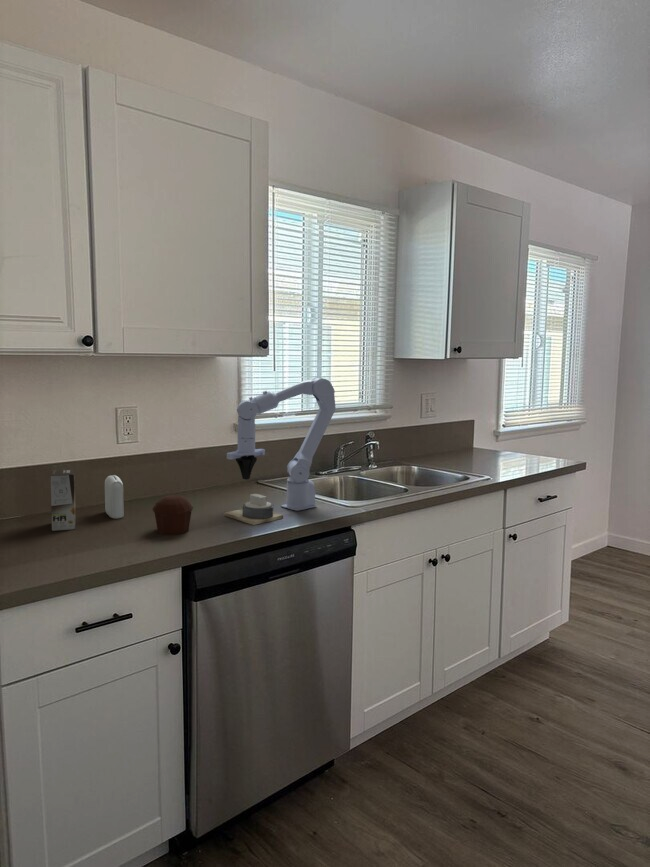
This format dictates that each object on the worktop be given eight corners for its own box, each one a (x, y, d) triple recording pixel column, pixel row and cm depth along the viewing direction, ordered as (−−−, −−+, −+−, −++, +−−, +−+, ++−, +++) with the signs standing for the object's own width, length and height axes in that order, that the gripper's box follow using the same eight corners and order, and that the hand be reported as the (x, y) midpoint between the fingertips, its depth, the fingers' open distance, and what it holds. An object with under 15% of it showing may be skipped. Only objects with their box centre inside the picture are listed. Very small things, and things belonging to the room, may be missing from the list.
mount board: (253, 509, 215) (253, 506, 215) (283, 518, 206) (283, 515, 206) (224, 515, 207) (224, 512, 207) (253, 525, 197) (253, 521, 197)
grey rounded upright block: (103, 511, 208) (103, 473, 206) (117, 510, 210) (117, 472, 208) (110, 519, 199) (109, 479, 197) (125, 518, 201) (124, 478, 199)
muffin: (187, 536, 184) (187, 501, 182) (148, 535, 184) (147, 500, 182) (196, 525, 195) (196, 492, 194) (159, 524, 196) (159, 491, 194)
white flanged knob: (259, 506, 210) (259, 491, 210) (276, 511, 205) (276, 496, 204) (239, 511, 205) (239, 495, 204) (256, 516, 199) (256, 499, 198)
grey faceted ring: (259, 509, 211) (259, 500, 211) (279, 515, 205) (279, 506, 205) (236, 514, 205) (237, 505, 204) (256, 520, 198) (256, 511, 198)
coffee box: (75, 529, 188) (74, 474, 185) (51, 531, 185) (49, 475, 183) (75, 521, 196) (74, 468, 194) (52, 522, 194) (51, 469, 192)
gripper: (255, 434, 222) (254, 474, 223) (220, 438, 211) (220, 479, 213) (269, 437, 217) (268, 477, 219) (234, 440, 206) (234, 483, 208)
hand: (245, 478), depth 215 cm, fingers closed
